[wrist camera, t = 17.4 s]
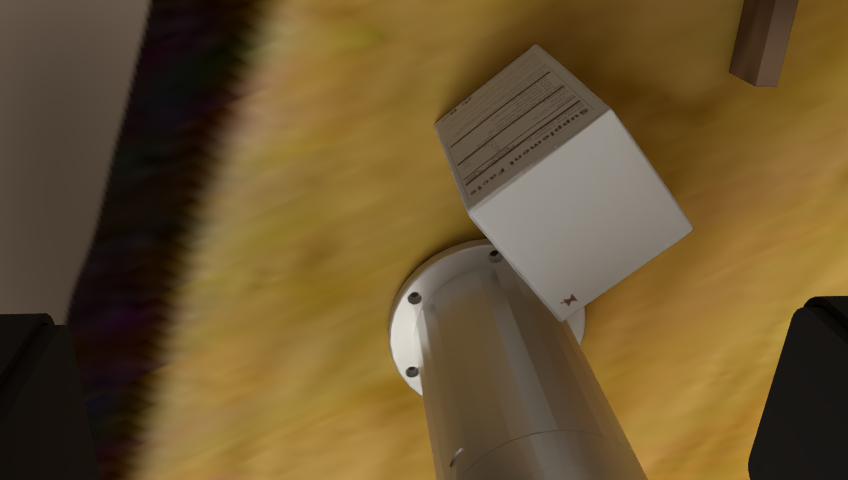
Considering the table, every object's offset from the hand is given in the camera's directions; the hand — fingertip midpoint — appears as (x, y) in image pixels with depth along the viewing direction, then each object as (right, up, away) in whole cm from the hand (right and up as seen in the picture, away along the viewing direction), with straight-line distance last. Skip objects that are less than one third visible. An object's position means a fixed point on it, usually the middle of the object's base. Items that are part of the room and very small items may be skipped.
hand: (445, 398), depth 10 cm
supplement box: (+5, +8, +33) cm, 34 cm away
